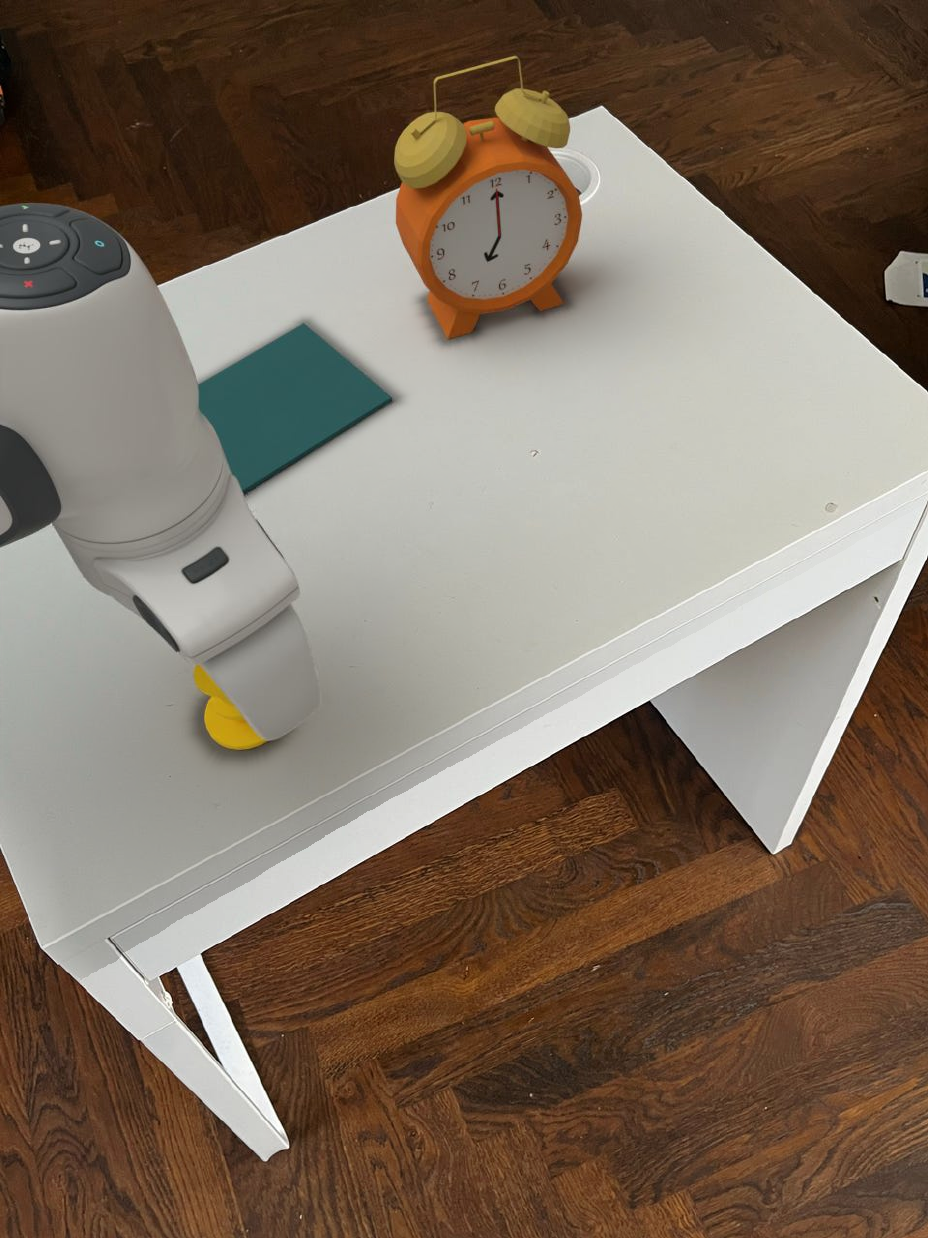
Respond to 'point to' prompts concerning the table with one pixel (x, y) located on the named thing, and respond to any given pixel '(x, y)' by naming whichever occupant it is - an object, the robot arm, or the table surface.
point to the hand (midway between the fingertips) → (221, 662)
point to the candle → (224, 716)
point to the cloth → (285, 403)
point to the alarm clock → (487, 206)
